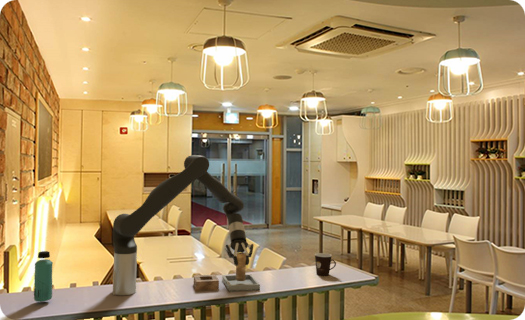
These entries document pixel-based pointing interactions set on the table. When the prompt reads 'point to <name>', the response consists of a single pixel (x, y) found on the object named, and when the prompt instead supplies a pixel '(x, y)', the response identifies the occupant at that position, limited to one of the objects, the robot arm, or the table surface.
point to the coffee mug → (323, 264)
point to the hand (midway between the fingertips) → (242, 264)
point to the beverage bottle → (43, 278)
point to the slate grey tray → (240, 283)
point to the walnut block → (206, 282)
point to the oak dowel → (241, 267)
